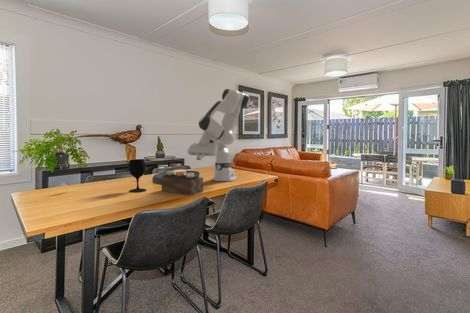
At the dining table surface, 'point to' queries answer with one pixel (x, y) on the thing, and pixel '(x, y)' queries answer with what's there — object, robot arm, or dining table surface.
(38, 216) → the dining table surface
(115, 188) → the dining table surface
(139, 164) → the wine glass
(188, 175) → the cream button
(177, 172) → the terracotta button
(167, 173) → the sage button
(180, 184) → the dark brown wooden box
